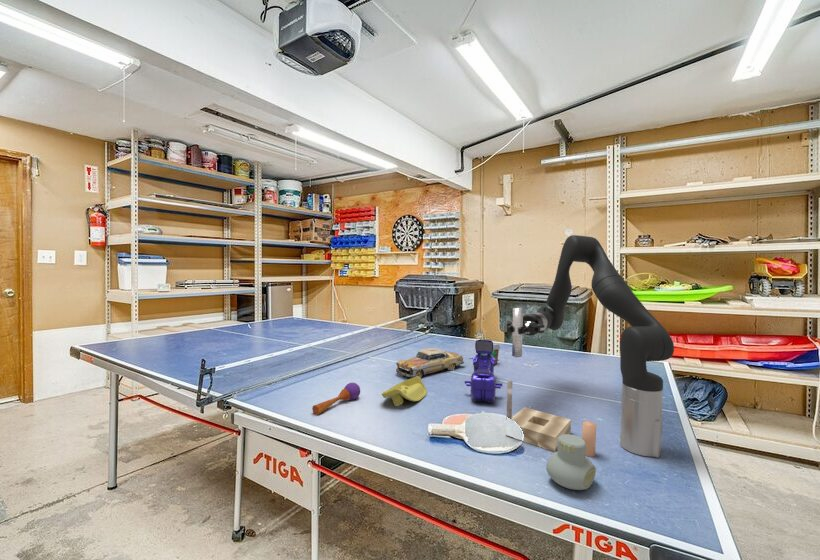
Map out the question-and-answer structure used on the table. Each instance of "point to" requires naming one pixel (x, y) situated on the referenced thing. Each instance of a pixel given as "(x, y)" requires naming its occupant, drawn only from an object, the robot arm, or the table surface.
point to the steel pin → (515, 336)
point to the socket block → (538, 425)
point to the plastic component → (406, 391)
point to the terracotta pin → (589, 437)
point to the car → (428, 362)
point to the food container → (495, 353)
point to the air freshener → (571, 464)
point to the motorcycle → (483, 373)
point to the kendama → (339, 398)
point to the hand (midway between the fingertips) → (514, 330)
